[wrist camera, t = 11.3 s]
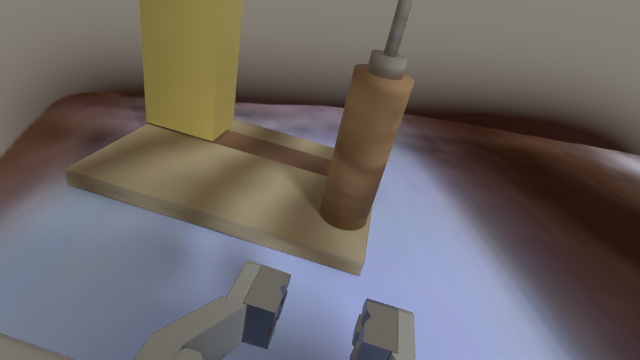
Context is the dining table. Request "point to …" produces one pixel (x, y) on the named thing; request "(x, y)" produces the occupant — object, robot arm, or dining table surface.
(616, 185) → the dining table surface
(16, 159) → the dining table surface
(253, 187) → the plywood panel
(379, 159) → the awl
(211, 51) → the block
